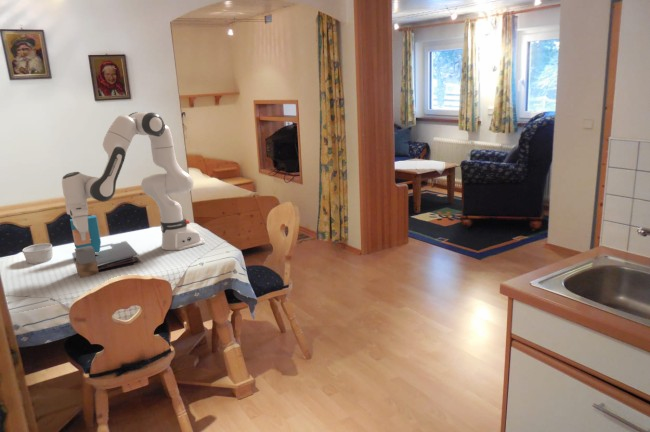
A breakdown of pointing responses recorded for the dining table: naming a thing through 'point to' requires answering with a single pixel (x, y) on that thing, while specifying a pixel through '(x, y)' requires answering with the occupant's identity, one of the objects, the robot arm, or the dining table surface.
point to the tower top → (85, 255)
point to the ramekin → (38, 253)
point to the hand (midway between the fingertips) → (82, 238)
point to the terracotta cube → (78, 238)
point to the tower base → (87, 269)
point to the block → (91, 233)
